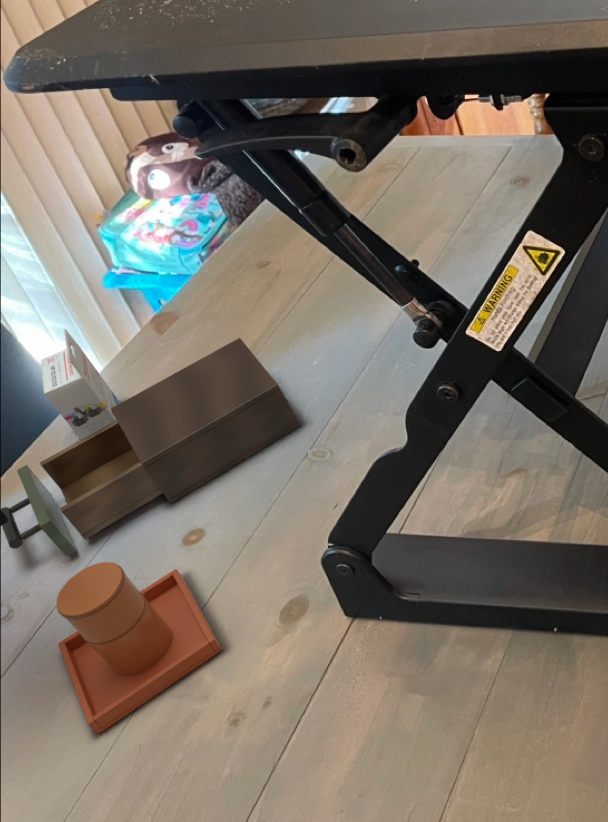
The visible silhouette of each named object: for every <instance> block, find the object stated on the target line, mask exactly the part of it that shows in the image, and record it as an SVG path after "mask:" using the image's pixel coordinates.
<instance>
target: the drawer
mask: <svg viewBox="0 0 608 822" xmlns="http://www.w3.org/2000/svg"><path fill="white" fill-rule="evenodd" d="M39 464H40V466H41V467H42V468H43V470H44V471H45V472H46V473H47V474H48V476H49V477H50V478H51V480H52V481H53V482H54V483H55V484H56V486H57V487H58V488H59V490H60V491H61V493H62V495H63V497H64V500H65V503H66V504H63V506H61V507H60V508H59V507H58V506H57V503H56V500H55V498H54V496H53V494H52V492H50V490H49V489H48V487H46V486H45V484H43V482H42V481H41V479H39V477H38V476H37V475H36V474H35V472H34V471H33V470H32V468H30V467H29V465H28V464H25V465H23V466H22V467H20V468H18V469H17V470H16V472H17V474H18V477H19V479H20V481H21V484H22V486H23V489H24V491H25V493H26V496H27V497H26V498H25V499H22V500H21V501H19V502H18V503H16V504H13V505H12V506H10V507H9V506H8V507H7V506H4V507H1V508H0V509H1V510H2V511H3V512H4V514H5V515H6V516H7V518H8V522H7V523H5V524H4V525H2V526H1V527H2V530H3V533H4V535H5V538H6V541H7V544H8V547H9V548H10V549H14V550H15V549H20V547H21V546H23V544H24V541H25V540H27V539H29V538H30V537H32V536H34V535H35V534H38V533H39V532H40V531H43V532H44V533H45V535H46V536H47V537H48V538H49V539H50V540H51V542H52V543H54V545H55V546H56V547H57V548H58V549H59V551H60V552H61V553H62V554H63V555H64V556H65V557H69V556H70V555H72V554H74V553H75V552H77V549H76V547H75V546H76V545H75V544H74V542H73V540H72V537H71V535H70V532H69V531H68V528H67V526H66V523H65V521H64V519H63V516H64V517H65V518H66V520H68V521H69V522H70V524H71V525H72V526H73V528H75V530H76V531H77V532H78V533H79V534H80V536H81V537H82V538H83V539H84V540H86V539H89V538H90V537H91V536H93V535H95V534H96V533H99V532H100V531H102V530H103V529H105V528H107V527H108V526H110V525H112V524H113V523H115V522H117V521H118V520H120V519H122V518H123V517H125V516H127V515H128V514H130V513H132V512H134V511H135V510H137V509H138V508H140V507H141V506H142V507H143V506H144V505H145V504H147V503H149V502H150V501H152V500H154V499H155V498H157V497H158V496H160V495H162V494H163V492H162V491H161V490H160V488H159V487H158V486H157V484H156V483H155V481H154V480H153V479H152V477H151V476H150V475H149V473H148V472H147V471H146V469H145V468H144V467H143V465H142V464H141V462H140V460H139V459H138V457H137V455H136V453H135V451H134V450H133V448H132V446H131V444H130V443H129V441H128V439H127V437H126V435H125V434H124V432H123V430H122V428H121V427H120V425H119V423H118V421H117V420H116V421H114V422H112V423H110V424H108V425H107V426H105V427H103V428H101V429H99V430H98V431H96V432H94V433H92V434H90V435H89V436H87V437H85V438H83V439H80V440H78V441H76V442H74V443H73V444H71V445H69V446H67V447H65V448H63V449H62V450H60V451H57V452H55V454H52V455H51V456H49V457H47V458H46V459H43V460H42V461H40V462H39ZM29 505H30V506H31V508H32V511H33V513H34V516H35V519H36V521H37V523H38V524H36V525H34V526H32V527H30V528H29V529H26V530H25V531H24V532H22V533H21V532H20V530H19V526H18V524H17V522H16V519H15V517H14V514H15V513H17V512H19V511H20V510H21V509H23V508H25V507H27V506H29ZM60 512H61V513H62V514H63V516H62V514H61V513H60Z"/></svg>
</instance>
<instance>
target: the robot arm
mask: <svg viewBox="0 0 608 822" xmlns="http://www.w3.org/2000/svg"><path fill="white" fill-rule="evenodd" d="M7 522H8V518H7V516H6V515H5V514H4V512H3V511H2V510H1V508H0V527H2V525H4V524H5V523H7Z"/></svg>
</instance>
